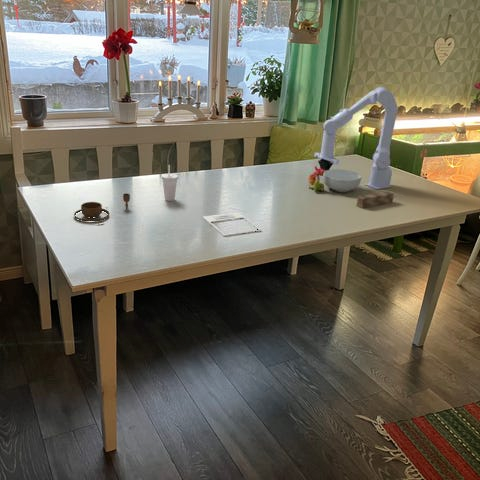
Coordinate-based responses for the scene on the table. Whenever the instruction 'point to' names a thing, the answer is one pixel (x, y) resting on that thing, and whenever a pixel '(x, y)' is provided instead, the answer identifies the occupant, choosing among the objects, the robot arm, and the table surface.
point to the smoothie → (169, 185)
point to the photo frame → (227, 217)
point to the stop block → (375, 199)
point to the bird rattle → (316, 179)
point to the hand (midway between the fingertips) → (324, 175)
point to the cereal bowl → (341, 180)
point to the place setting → (97, 209)
